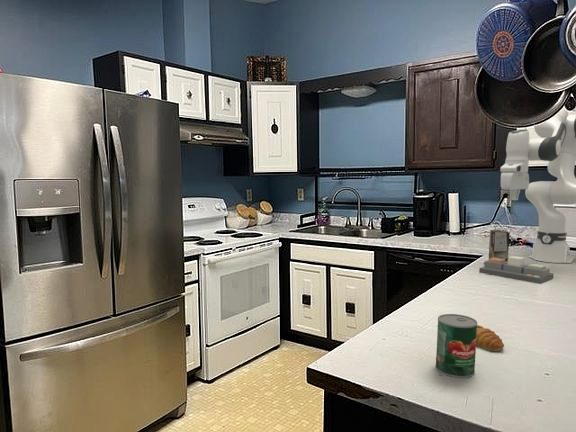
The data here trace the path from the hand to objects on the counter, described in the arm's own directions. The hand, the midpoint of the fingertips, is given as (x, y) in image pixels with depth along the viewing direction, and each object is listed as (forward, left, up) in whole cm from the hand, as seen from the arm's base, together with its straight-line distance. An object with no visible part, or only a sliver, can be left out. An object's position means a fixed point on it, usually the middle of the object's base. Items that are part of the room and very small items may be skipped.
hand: (514, 200), depth 185 cm
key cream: (+7, +5, -27) cm, 28 cm away
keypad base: (+7, +5, -31) cm, 32 cm away
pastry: (+90, +31, -32) cm, 100 cm away
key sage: (+7, +13, -29) cm, 33 cm away
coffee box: (-8, -9, -31) cm, 34 cm away
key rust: (+7, -3, -29) cm, 30 cm away
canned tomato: (+109, +34, -31) cm, 118 cm away
